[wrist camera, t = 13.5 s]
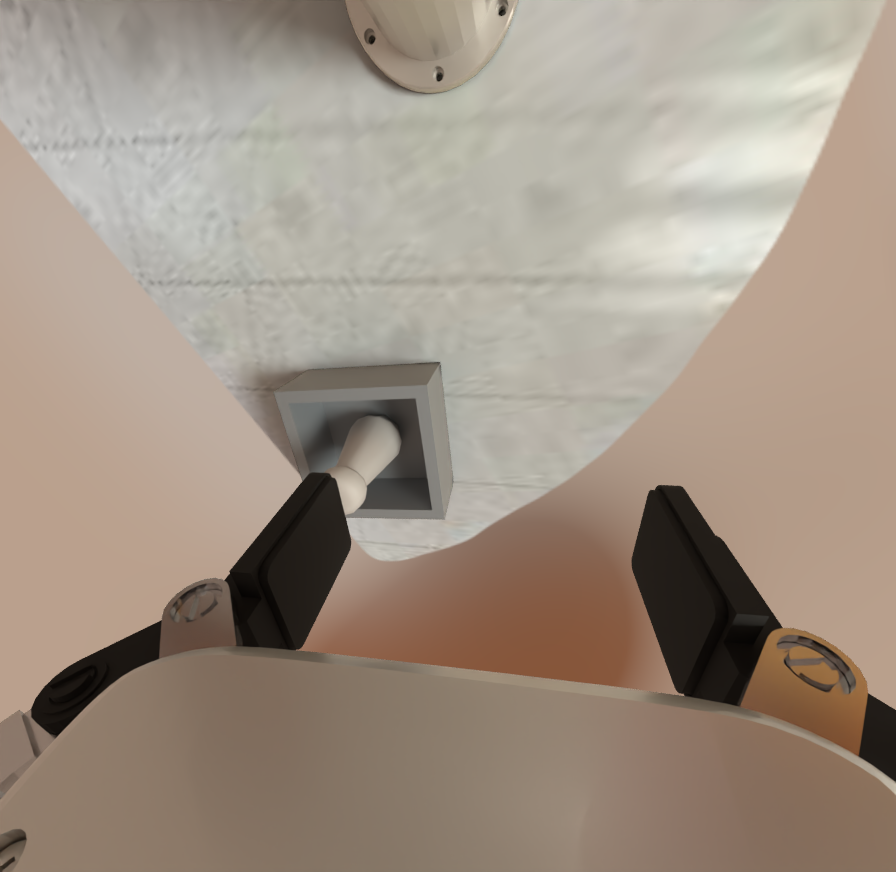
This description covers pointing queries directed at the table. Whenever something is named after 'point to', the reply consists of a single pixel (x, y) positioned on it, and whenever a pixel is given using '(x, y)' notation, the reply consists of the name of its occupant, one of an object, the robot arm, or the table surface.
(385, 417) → the salt shaker
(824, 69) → the table surface
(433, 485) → the bin
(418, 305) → the table surface
